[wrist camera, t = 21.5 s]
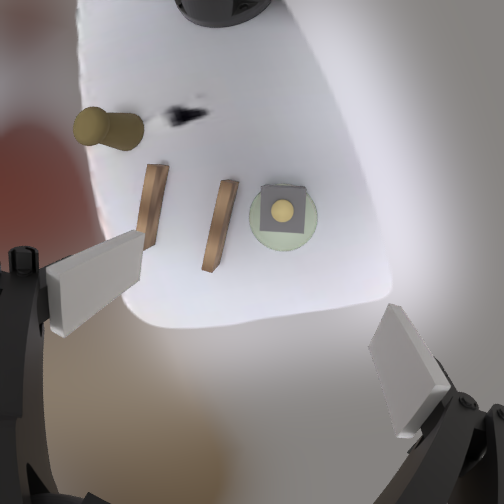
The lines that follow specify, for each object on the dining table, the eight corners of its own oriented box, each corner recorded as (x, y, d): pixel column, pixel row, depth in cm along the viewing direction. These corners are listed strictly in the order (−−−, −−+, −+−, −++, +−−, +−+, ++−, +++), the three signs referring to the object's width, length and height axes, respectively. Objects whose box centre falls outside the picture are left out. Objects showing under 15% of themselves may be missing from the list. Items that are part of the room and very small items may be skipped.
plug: (266, 184, 38) (259, 187, 31) (304, 186, 37) (306, 189, 31) (265, 222, 39) (258, 232, 33) (302, 224, 39) (304, 235, 32)
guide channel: (160, 164, 40) (147, 164, 36) (238, 182, 39) (232, 183, 36) (146, 241, 44) (133, 248, 40) (219, 263, 43) (212, 272, 39)
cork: (141, 108, 38) (98, 94, 28) (146, 144, 40) (103, 139, 29) (109, 120, 39) (64, 112, 29) (114, 155, 41) (68, 155, 30)
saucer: (259, 176, 39) (258, 176, 38) (324, 194, 38) (325, 194, 37) (243, 239, 41) (242, 240, 40) (305, 257, 41) (306, 259, 40)
